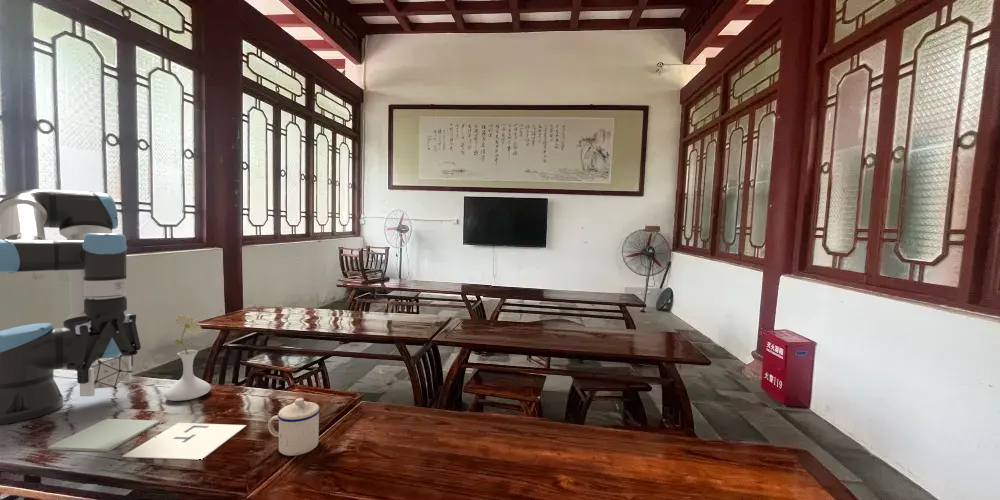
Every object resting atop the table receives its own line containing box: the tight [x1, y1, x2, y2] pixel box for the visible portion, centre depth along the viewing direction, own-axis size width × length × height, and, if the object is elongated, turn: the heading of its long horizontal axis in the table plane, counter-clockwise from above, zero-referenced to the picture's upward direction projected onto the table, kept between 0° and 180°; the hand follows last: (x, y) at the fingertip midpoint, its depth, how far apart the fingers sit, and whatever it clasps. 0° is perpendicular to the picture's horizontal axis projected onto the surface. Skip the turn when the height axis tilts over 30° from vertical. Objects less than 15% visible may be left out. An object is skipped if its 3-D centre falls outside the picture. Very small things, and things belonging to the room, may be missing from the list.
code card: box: [121, 422, 247, 461], centre depth 99 cm, size 18×16×1 cm
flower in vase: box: [163, 313, 212, 402], centre depth 124 cm, size 13×11×25 cm
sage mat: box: [47, 418, 161, 453], centre depth 100 cm, size 14×14×1 cm
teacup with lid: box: [267, 397, 321, 457], centre depth 98 cm, size 12×9×12 cm
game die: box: [90, 354, 134, 390], centre depth 99 cm, size 9×8×10 cm
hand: (107, 387), depth 100 cm, fingers closed on game die, 9 cm apart
